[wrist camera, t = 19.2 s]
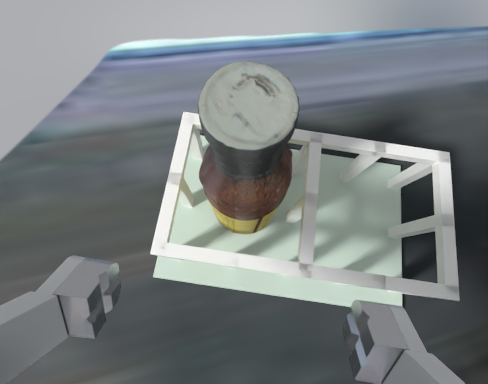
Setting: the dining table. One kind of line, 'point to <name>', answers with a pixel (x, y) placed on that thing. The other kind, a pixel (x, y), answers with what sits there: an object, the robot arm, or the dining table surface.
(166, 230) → the dish rack
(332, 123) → the dining table surface
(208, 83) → the sauce bottle
